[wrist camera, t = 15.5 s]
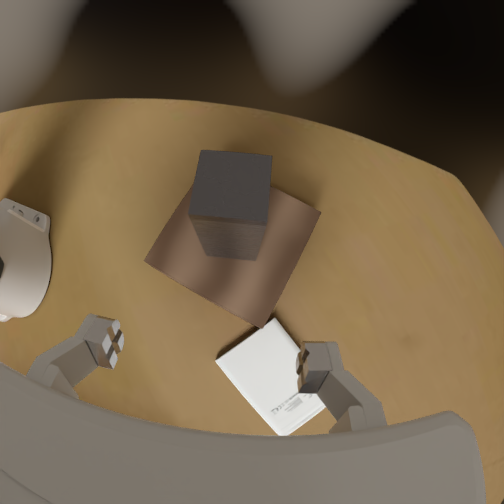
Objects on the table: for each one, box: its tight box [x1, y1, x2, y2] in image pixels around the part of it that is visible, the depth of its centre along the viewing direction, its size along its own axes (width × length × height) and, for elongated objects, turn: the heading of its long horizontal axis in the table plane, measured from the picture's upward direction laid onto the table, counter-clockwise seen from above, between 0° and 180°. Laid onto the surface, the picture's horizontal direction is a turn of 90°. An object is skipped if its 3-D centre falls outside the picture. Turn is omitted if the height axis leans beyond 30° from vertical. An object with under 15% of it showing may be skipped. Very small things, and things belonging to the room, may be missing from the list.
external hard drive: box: [215, 317, 326, 436], centre depth 28 cm, size 2×8×12 cm
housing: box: [188, 150, 272, 261], centre depth 23 cm, size 5×5×11 cm
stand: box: [144, 184, 321, 329], centre depth 30 cm, size 14×14×4 cm
